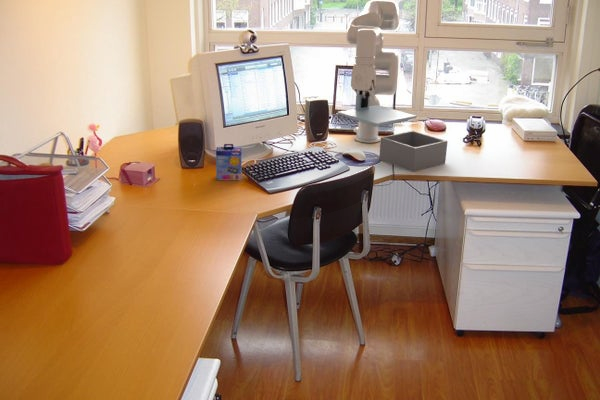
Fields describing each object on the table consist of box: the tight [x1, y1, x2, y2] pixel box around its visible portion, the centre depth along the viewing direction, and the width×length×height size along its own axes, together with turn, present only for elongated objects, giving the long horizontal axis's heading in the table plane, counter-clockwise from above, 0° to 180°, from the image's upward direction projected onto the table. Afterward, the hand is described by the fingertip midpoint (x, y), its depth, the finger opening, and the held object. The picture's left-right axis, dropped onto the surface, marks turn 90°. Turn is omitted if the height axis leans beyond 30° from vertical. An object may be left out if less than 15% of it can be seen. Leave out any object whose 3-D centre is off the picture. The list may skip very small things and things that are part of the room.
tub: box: [378, 130, 449, 173], centre depth 286 cm, size 20×20×10 cm
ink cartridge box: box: [215, 143, 242, 181], centre depth 259 cm, size 10×6×14 cm, turn 95°
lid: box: [337, 94, 417, 128], centre depth 263 cm, size 22×22×8 cm
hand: (362, 106), depth 269 cm, fingers closed on lid, 1 cm apart
